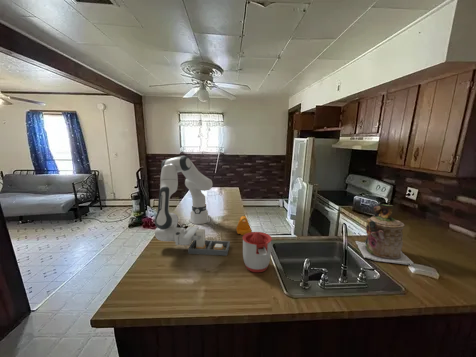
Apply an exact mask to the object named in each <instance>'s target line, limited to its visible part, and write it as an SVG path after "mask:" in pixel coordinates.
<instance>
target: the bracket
mask: <svg viewBox="0 0 476 357" xmlns="http://www.w3.org/2000/svg"><path fill="white" fill-rule="evenodd" d="M235 229H236V230H235V231H236V233H237V234H238V235H239V234H240V235H241V236H243V235H245V234H246V233H250V232H253V231H252V228H251V226H250V223H249V220H248V218H247V217H246V216H245V215H242V216H241V217H239V220H238V222H237V225H236V228H235ZM237 234H236V235H237Z"/></svg>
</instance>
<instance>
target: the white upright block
mask: <svg viewBox="0 0 476 357" xmlns="http://www.w3.org/2000/svg"><path fill="white" fill-rule="evenodd" d="M196 236H201V239H200V240H196V245H195V248H196V249H207V245H205V240H206V229H205V228H199V229H198V230H197V231H196Z"/></svg>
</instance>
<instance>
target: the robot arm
mask: <svg viewBox="0 0 476 357" xmlns="http://www.w3.org/2000/svg"><path fill="white" fill-rule="evenodd" d="M160 168H161V170H160V171H161V172H160V187H159V193H158V194H159V195H158V204H157V212H156V215H155V218H154V225H155V227H156V228H155V230H154V236H155V238H156V239H157V240H158V241H162V242H174V243H175V246H190V245H191V244H192V242H193V241H194V240H200V239H201V236H196V231H197V230H198V229H200V228H199V227H198V226H188V227H187V228H185V227H178V224H179V223H178V222H179V217H178V214H176V213H175V212H170V211H169V209H170V199H171V196H172V195H173V194H174V193H176V192H177V191H178V187H179V182H178V181H179V176H178V174H179V173H182V175H183V176H184V178H185V180H184V185H185V187H186V188H187V189H188V190H189V193H190V195H191V202H192V205H191V211H190V216H189V217H190V218H189V219H188V222H189V223H190V222H191V223H192V224H194V225H202V224H206V223H210V222H211V217H212V216H211V215H209V211H208V209H207V203H206V195H205V194H203V192H202V191H210V190H211V189H212V188H213V184H214V183H213V181H212V179H211V178H209V177H207V176H206V175H205V174H203V173H202V172H201V171H200V170H198V168H197V167H196V166H195V164H194V163H193V162H192V160H191V158H189V157H188V156H186V155H180V156H175V157H171V158H166V159H164V160H162V162H161V164H160Z"/></svg>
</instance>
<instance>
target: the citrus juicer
mask: <svg viewBox="0 0 476 357" xmlns="http://www.w3.org/2000/svg"><path fill="white" fill-rule="evenodd" d="M272 240H273V238H272V236H271V235H270V234H268V233H265V232H262V231H261V232H260V231H252V232H250V233H246V234H245V235H242V258H243V262H244V265H245V267H246V269H247V270H248V271H250V272H251V273H263V272H265V271H266V270H267V269H268V267H269V266H270V265H269V264H270V260H271V255H272Z"/></svg>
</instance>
